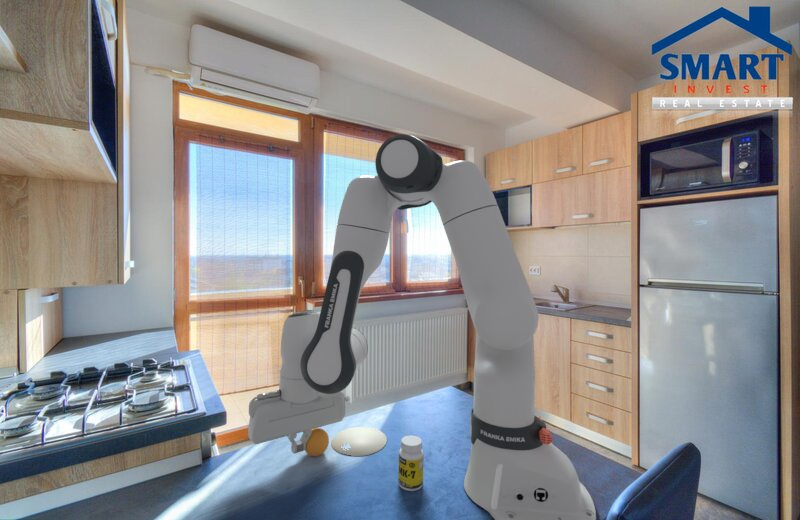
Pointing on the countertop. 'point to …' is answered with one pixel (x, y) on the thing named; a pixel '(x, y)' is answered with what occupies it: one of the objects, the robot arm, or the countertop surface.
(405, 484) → the supplement bottle
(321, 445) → the ball
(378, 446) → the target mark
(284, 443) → the countertop surface
